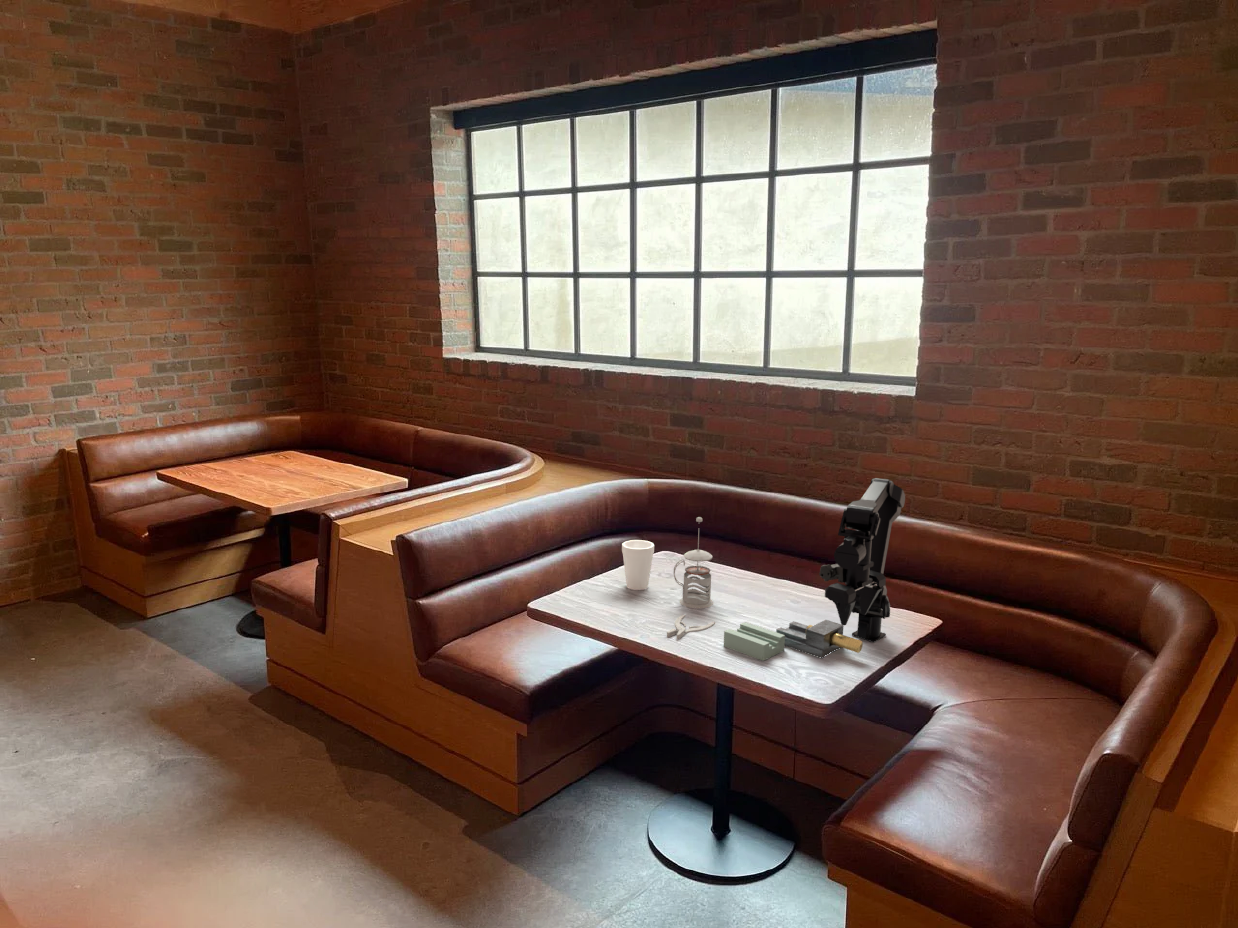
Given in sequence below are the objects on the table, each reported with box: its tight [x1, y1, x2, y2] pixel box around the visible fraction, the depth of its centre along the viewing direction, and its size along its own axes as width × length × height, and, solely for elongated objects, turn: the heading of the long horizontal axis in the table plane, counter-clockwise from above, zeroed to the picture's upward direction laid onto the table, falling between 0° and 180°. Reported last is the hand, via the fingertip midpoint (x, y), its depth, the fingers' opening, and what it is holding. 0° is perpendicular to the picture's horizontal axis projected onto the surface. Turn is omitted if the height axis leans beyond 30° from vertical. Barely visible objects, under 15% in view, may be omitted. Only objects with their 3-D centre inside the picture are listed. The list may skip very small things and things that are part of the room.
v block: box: [723, 621, 785, 662], centre depth 216 cm, size 9×12×4 cm
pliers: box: [666, 614, 716, 640], centre depth 229 cm, size 10×2×15 cm
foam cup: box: [621, 539, 655, 591], centre depth 259 cm, size 10×9×13 cm
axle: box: [807, 624, 864, 654], centre depth 214 cm, size 3×14×3 cm, turn 47°
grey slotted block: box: [775, 619, 845, 659], centre depth 219 cm, size 10×14×6 cm
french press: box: [673, 516, 715, 610], centre depth 245 cm, size 10×12×25 cm
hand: (853, 619), depth 209 cm, fingers open, 9 cm apart
